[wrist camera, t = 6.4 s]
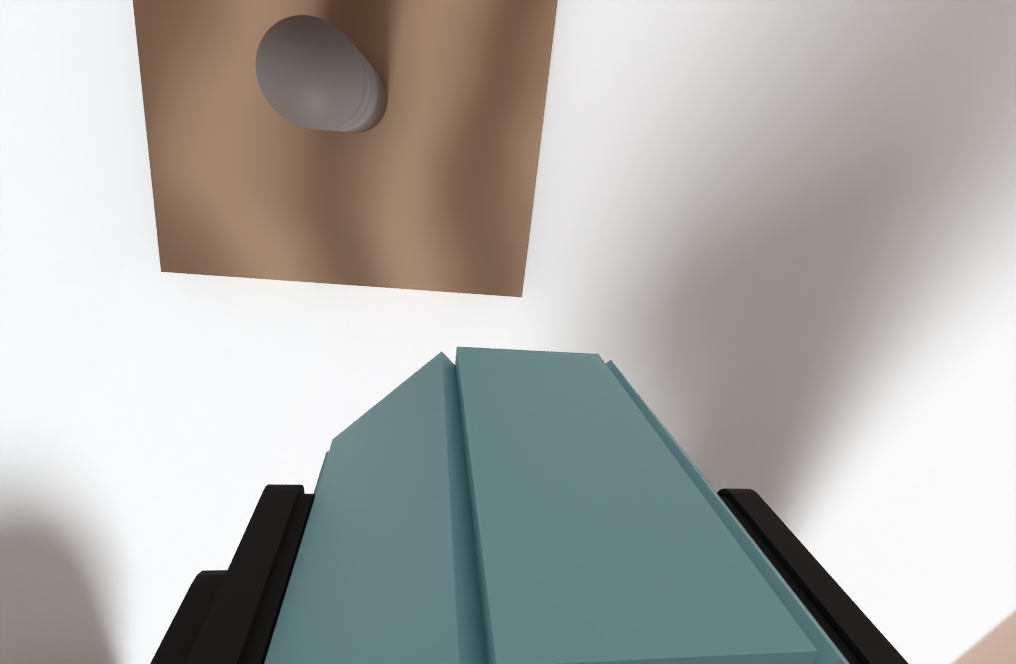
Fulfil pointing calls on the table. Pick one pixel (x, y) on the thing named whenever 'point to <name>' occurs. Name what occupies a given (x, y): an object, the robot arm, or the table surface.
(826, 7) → the table surface
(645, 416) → the ring
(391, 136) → the post stand
